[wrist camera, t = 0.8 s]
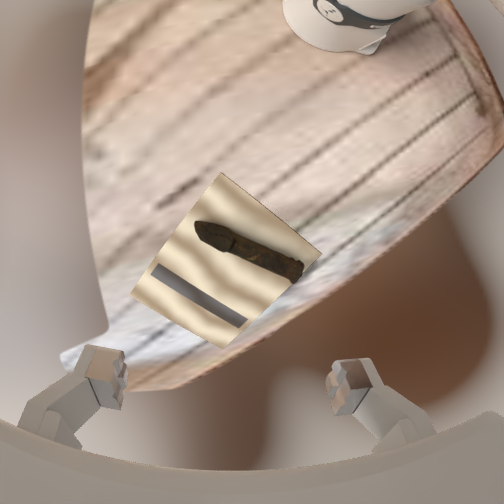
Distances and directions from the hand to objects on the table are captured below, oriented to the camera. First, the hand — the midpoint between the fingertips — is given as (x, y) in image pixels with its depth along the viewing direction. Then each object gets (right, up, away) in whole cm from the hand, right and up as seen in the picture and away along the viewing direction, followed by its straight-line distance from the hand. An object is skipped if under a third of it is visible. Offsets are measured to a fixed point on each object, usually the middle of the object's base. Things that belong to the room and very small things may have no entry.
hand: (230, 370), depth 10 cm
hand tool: (0, +5, +38) cm, 38 cm away
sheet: (-5, 0, +40) cm, 40 cm away
